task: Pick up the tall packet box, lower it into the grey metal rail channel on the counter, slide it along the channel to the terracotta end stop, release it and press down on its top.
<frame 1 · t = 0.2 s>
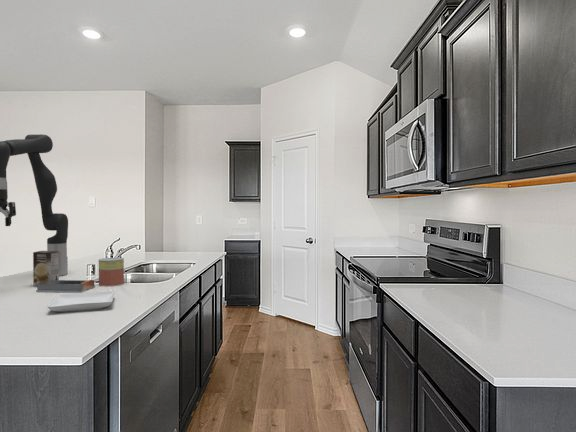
canned food: (111, 284, 200), on the countertop
rail seat: (66, 289, 187), on the countertop
coffee box: (46, 285, 196), on the countertop
salad plate: (83, 306, 158), on the countertop
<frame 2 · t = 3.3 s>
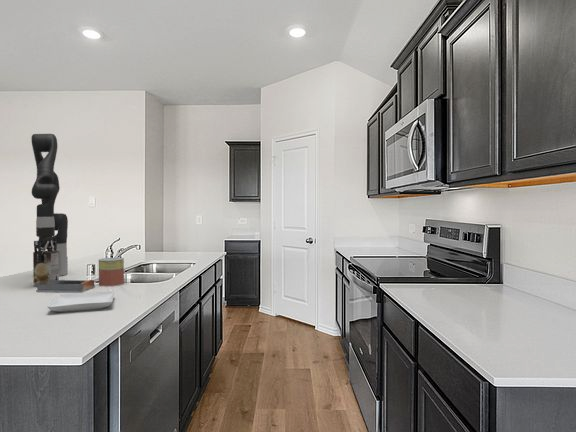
hand: (46, 261, 196), 11 cm above the countertop, tool pointing down, fingers closed on coffee box, 6 cm apart
coffee box: (46, 285, 196), on the countertop, touching gripper
everything else where it was.
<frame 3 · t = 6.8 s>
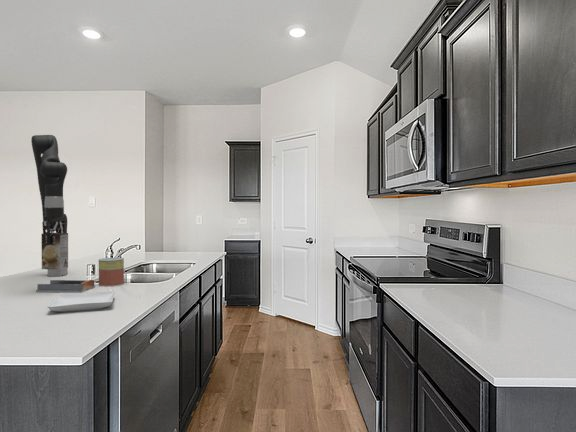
hand: (54, 243, 186), 21 cm above the countertop, tool pointing down, fingers closed on coffee box, 6 cm apart
coffee box: (55, 269, 187), point 9 cm above the countertop, touching gripper
everything else where it was.
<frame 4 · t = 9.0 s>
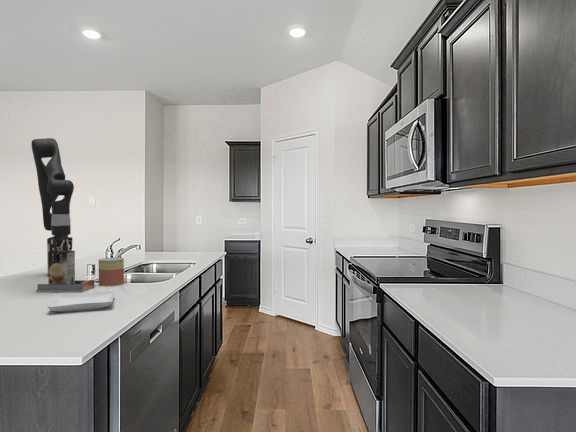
hand: (61, 261, 186), 13 cm above the countertop, tool pointing down, fingers closed on coffee box, 6 cm apart
coffee box: (61, 286, 187), point 1 cm above the countertop, touching gripper
everything else where it was.
when the fingers open (13 cm above the countertop, at t = 10.9 s): coffee box stays where it is, resting on rail seat.
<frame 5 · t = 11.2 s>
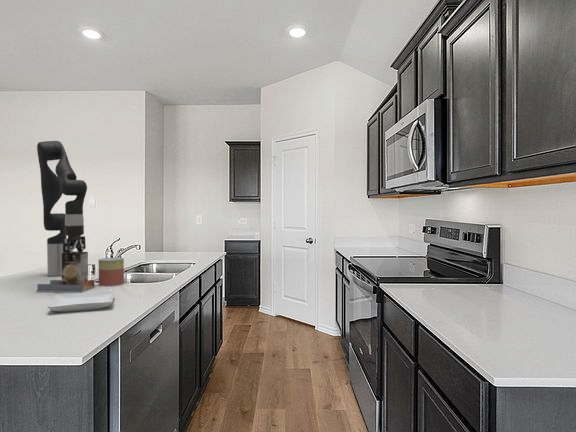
hand: (74, 260, 186), 13 cm above the countertop, tool pointing down, fingers open, 8 cm apart
coffee box: (75, 288, 187), point 1 cm above the countertop, touching rail seat
everything else where it was.
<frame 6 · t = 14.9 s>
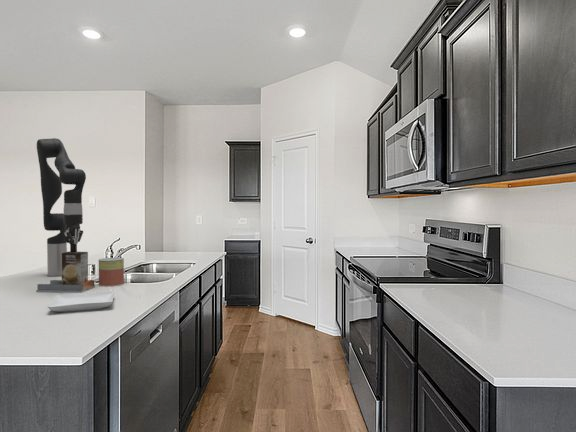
hand: (73, 252, 186), 17 cm above the countertop, tool pointing down, fingers closed
coffee box: (75, 288, 187), point 1 cm above the countertop, touching gripper, rail seat
everything else where it was.
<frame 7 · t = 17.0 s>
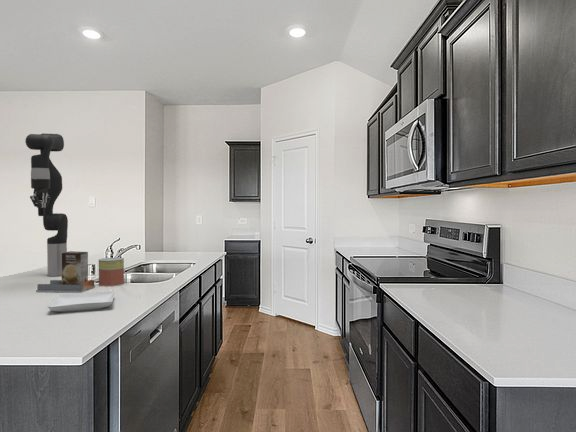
hand: (41, 216, 191), 33 cm above the countertop, tool pointing down, fingers closed
coffee box: (75, 288, 187), point 1 cm above the countertop, touching rail seat
everything else where it was.
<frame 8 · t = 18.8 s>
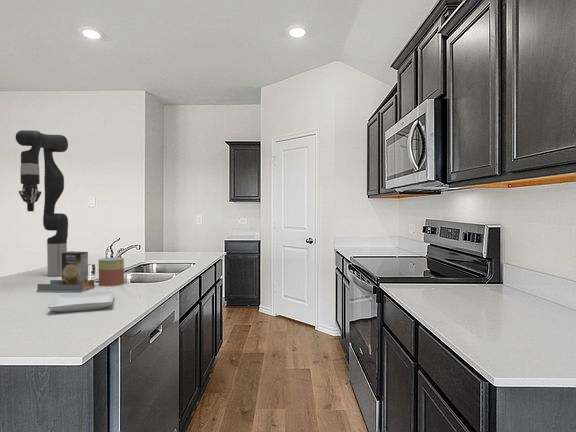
hand: (30, 211, 192), 35 cm above the countertop, tool pointing down, fingers closed
nothing on the countertop moved.
at the end: coffee box 0.4 cm from the target spot on the rail seat, point 0.6 cm above the rail seat's base; coffee box tilted 0°; coffee box touching rail seat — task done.
